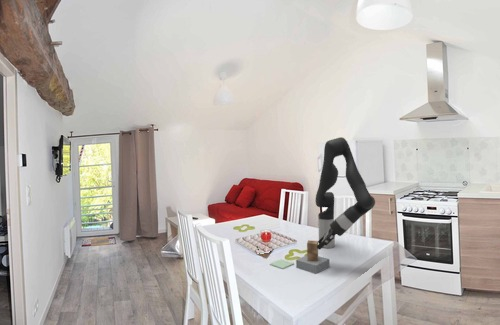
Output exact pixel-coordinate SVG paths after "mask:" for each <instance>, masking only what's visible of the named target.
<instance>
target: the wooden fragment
mask: <svg viewBox="0 0 500 325" xmlns="http://www.w3.org/2000/svg"><path fill="white" fill-rule="evenodd" d="M272 252H273V250H272V251H271V252H269V253H264V254H260V253H259V254H257V253H256V255H257V256H259V257H262V258H263V259H268V258H269V256H270V255H271V253H272Z"/></svg>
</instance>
